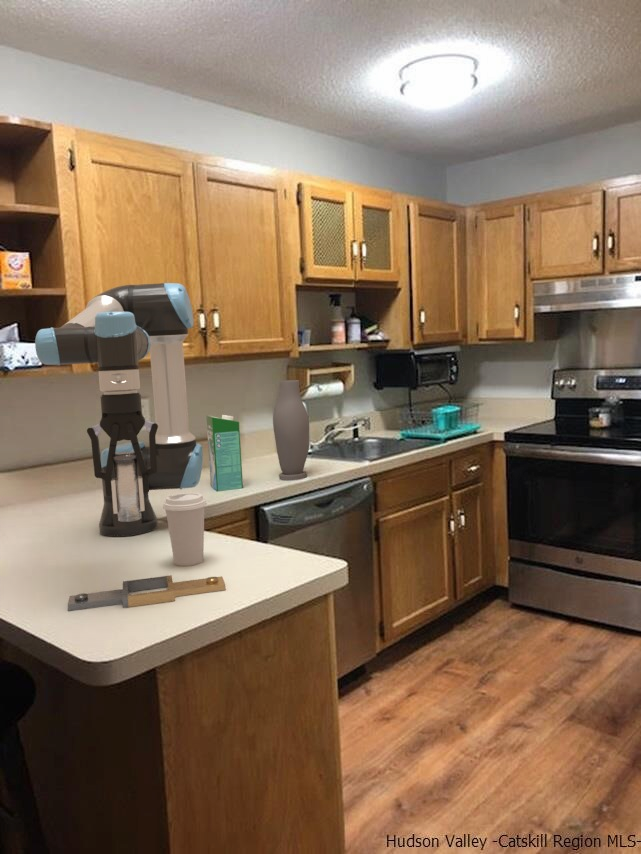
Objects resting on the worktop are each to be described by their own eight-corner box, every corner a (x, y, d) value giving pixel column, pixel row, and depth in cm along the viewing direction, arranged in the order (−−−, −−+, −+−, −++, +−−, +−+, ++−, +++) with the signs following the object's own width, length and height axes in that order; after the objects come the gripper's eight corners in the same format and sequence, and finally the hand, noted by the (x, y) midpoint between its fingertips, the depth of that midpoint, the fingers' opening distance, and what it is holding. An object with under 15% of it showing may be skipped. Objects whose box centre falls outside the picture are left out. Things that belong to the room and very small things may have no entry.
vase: (297, 482, 243) (293, 381, 240) (267, 479, 250) (262, 381, 246) (317, 475, 254) (313, 379, 251) (288, 473, 261) (284, 379, 258)
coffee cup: (191, 552, 165) (187, 490, 163) (218, 559, 159) (214, 494, 157) (158, 563, 158) (153, 498, 156) (186, 571, 152) (181, 503, 150)
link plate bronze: (128, 590, 141) (128, 580, 141) (221, 578, 146) (220, 569, 145) (128, 607, 132) (127, 596, 132) (227, 593, 136) (226, 583, 136)
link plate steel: (71, 597, 138) (70, 587, 138) (167, 585, 143) (166, 575, 143) (66, 615, 129) (65, 605, 129) (169, 601, 134) (168, 591, 133)
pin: (116, 517, 140) (111, 453, 139) (143, 514, 141) (139, 451, 140) (114, 523, 135) (109, 456, 133) (143, 520, 136) (138, 454, 135)
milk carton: (243, 488, 237) (238, 414, 234) (216, 491, 234) (212, 417, 231) (236, 483, 245) (231, 412, 242) (210, 486, 242) (206, 414, 239)
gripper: (70, 396, 130) (81, 519, 132) (166, 390, 134) (175, 510, 136) (75, 394, 137) (84, 511, 139) (166, 389, 141) (173, 503, 143)
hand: (129, 510), depth 138 cm, fingers closed on pin, 4 cm apart
